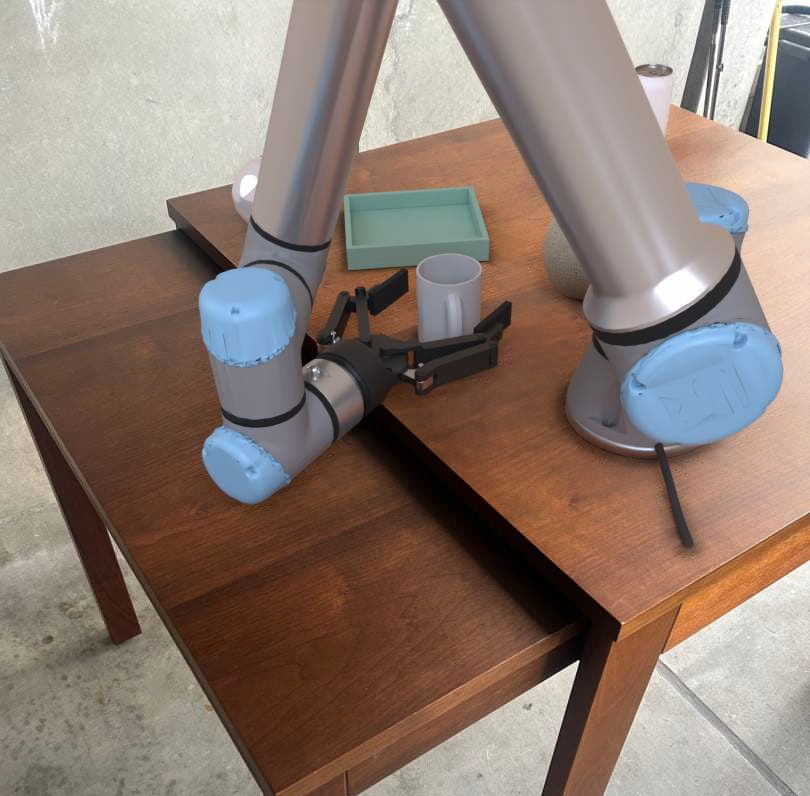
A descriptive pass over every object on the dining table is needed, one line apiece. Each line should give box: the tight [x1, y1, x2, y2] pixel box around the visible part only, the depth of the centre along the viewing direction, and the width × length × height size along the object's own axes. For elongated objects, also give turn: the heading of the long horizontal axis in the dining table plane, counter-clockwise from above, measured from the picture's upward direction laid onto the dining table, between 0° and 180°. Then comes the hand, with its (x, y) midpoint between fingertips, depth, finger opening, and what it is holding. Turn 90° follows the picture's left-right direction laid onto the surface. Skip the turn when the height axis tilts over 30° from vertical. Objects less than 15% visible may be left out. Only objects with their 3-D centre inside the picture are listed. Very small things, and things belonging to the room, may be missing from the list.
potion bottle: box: [230, 155, 262, 225], centre depth 122 cm, size 9×10×15 cm
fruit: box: [542, 216, 590, 301], centre depth 102 cm, size 10×12×15 cm
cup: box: [415, 254, 483, 343], centre depth 97 cm, size 7×10×9 cm
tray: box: [343, 185, 491, 271], centre depth 118 cm, size 17×19×3 cm
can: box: [635, 63, 675, 138], centre depth 132 cm, size 6×6×12 cm
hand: (455, 295), depth 96 cm, fingers open, 13 cm apart
